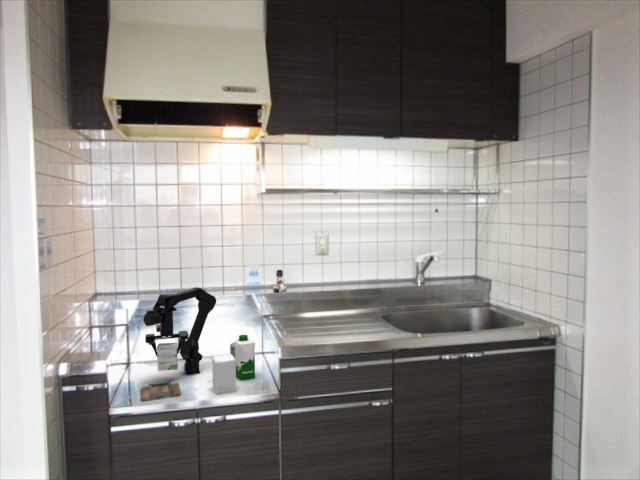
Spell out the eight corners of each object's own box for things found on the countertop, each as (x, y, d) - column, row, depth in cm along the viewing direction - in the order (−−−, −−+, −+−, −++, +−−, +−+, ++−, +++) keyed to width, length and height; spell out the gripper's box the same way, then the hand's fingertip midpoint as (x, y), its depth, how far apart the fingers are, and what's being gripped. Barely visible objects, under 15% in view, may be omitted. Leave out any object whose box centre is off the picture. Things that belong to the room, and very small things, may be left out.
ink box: (178, 366, 221) (177, 341, 220) (177, 370, 216) (176, 344, 215) (159, 367, 219) (158, 342, 219) (157, 371, 215) (156, 345, 214)
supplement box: (236, 393, 203) (236, 359, 202) (215, 396, 200) (215, 362, 199) (232, 386, 212) (232, 353, 211) (212, 389, 209) (212, 356, 208)
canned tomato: (244, 368, 236) (244, 346, 236) (228, 368, 236) (228, 346, 236) (247, 362, 244) (246, 342, 244) (232, 362, 244) (231, 342, 244)
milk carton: (251, 374, 228) (250, 333, 226) (257, 380, 220) (257, 338, 218) (233, 377, 224) (232, 335, 222) (239, 383, 216) (238, 340, 214)
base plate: (178, 384, 214) (178, 379, 214) (181, 395, 201) (181, 390, 201) (140, 389, 208) (140, 384, 208) (141, 401, 195) (141, 396, 195)
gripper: (185, 316, 227) (186, 348, 228) (144, 319, 220) (145, 352, 221) (188, 321, 217) (189, 354, 218) (145, 325, 210) (146, 359, 211)
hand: (167, 355), depth 217 cm, fingers closed on ink box, 9 cm apart
